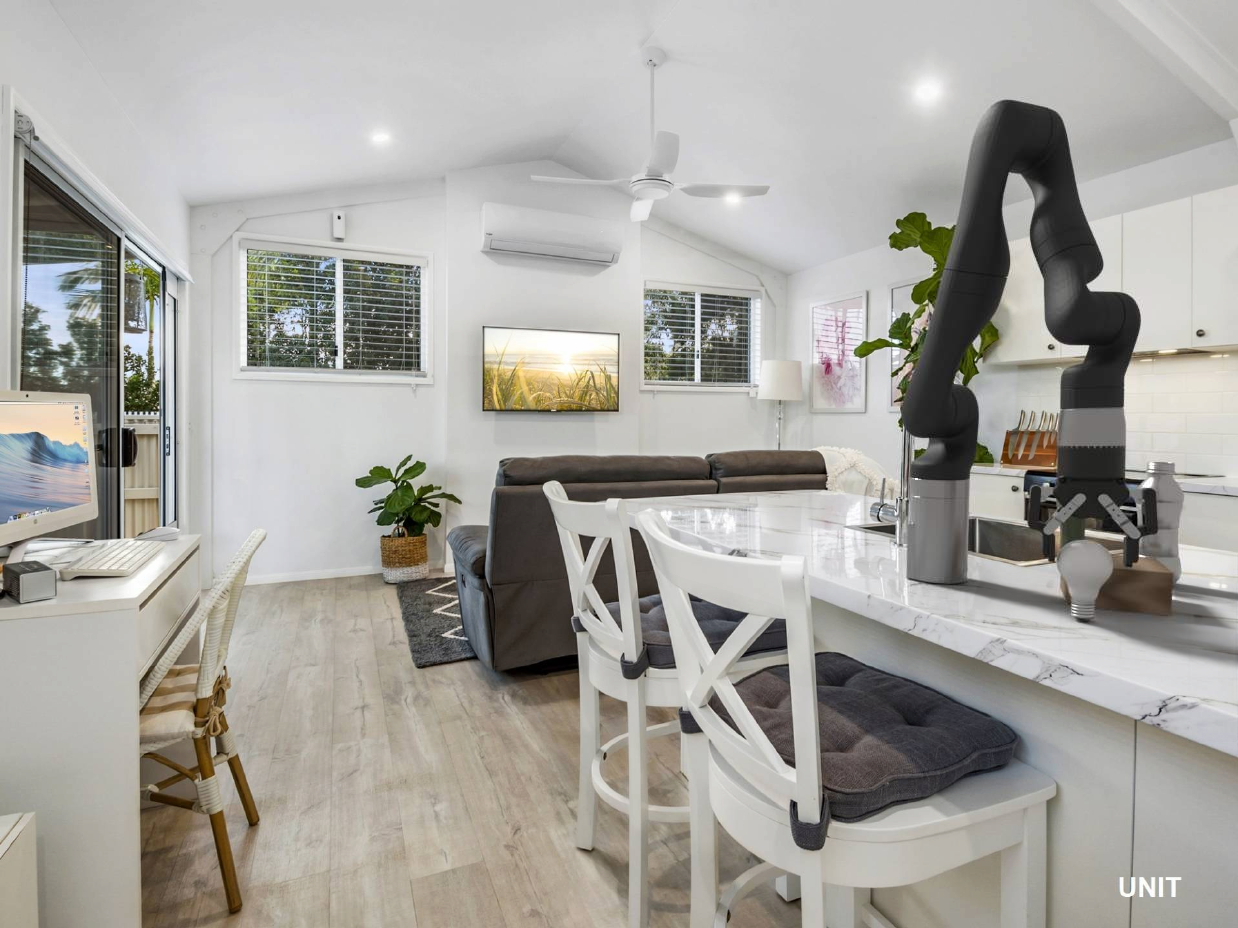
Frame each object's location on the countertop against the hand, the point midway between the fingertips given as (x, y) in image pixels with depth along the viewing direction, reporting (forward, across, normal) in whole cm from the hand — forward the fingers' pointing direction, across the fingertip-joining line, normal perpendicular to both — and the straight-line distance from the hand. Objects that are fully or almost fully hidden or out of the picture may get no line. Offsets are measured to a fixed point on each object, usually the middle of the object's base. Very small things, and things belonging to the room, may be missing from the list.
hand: (1088, 563), depth 92 cm
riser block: (+8, +4, +14) cm, 17 cm away
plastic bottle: (+8, +13, +30) cm, 34 cm away
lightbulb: (+8, -1, 0) cm, 8 cm away
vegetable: (+8, +1, +30) cm, 31 cm away
